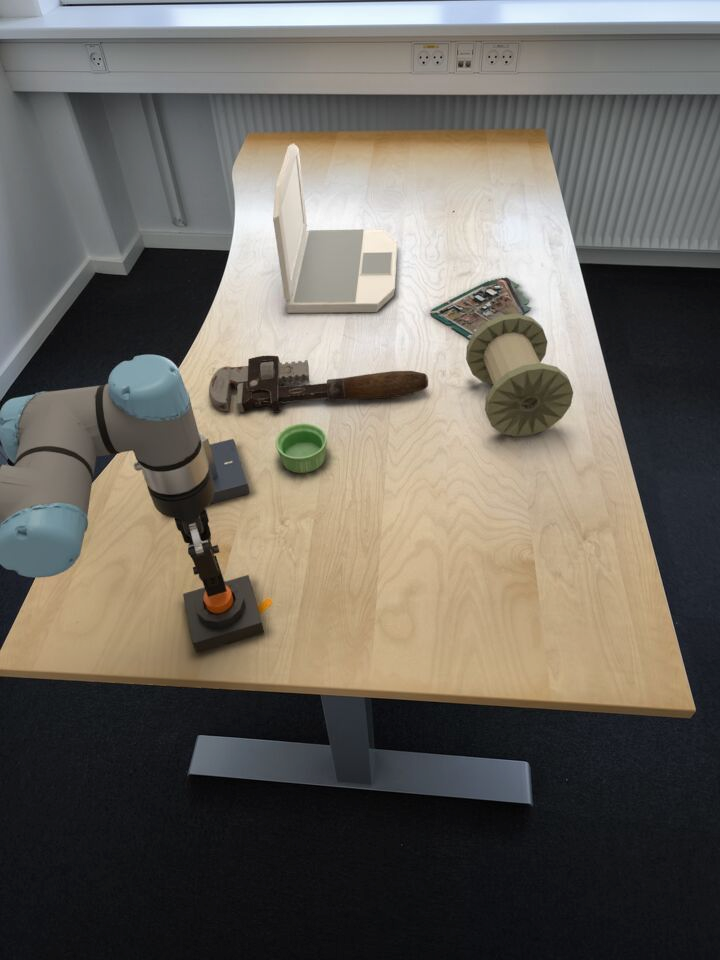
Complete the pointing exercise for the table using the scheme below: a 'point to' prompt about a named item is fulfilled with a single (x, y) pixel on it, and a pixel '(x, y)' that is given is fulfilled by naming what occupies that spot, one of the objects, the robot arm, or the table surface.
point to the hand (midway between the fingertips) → (216, 590)
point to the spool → (518, 375)
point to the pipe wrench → (268, 374)
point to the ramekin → (302, 447)
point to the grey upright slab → (209, 456)
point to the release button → (219, 601)
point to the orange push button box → (223, 617)
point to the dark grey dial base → (228, 472)
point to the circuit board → (481, 306)
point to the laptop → (328, 255)
